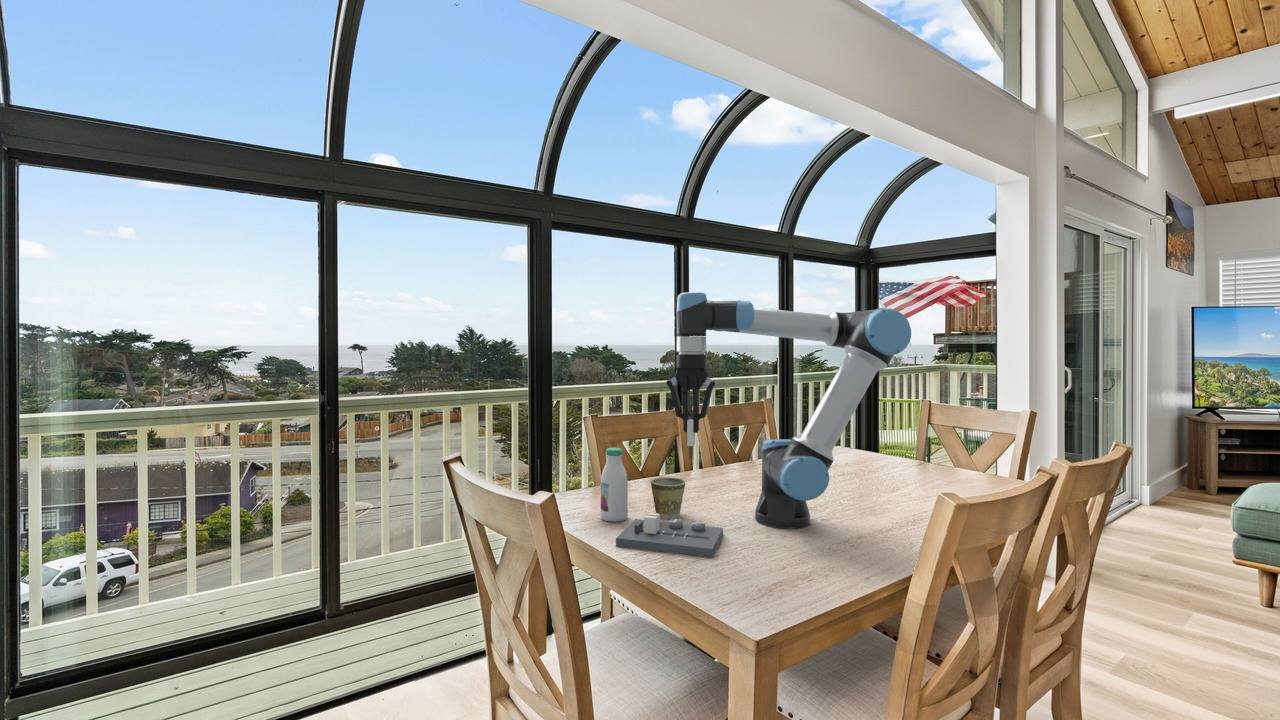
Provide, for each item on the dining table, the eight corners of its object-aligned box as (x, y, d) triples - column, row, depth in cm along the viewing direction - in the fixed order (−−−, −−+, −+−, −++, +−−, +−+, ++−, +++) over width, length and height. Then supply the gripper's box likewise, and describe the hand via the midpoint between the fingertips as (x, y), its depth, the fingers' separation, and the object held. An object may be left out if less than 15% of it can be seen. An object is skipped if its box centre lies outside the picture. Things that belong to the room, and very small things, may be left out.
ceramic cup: (679, 522, 163) (679, 486, 163) (645, 518, 166) (646, 483, 166) (691, 509, 175) (691, 476, 175) (660, 506, 179) (660, 473, 178)
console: (722, 535, 152) (723, 520, 152) (712, 557, 137) (712, 540, 137) (635, 526, 159) (635, 511, 159) (615, 546, 144) (616, 530, 144)
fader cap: (659, 529, 150) (660, 513, 150) (655, 534, 146) (655, 517, 146) (648, 527, 151) (648, 512, 151) (643, 532, 147) (644, 516, 147)
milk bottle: (629, 514, 170) (629, 446, 169) (625, 522, 162) (626, 451, 161) (602, 513, 171) (603, 445, 170) (598, 521, 163) (598, 450, 162)
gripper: (719, 353, 150) (718, 443, 151) (670, 352, 154) (670, 441, 155) (714, 353, 143) (713, 449, 144) (663, 353, 147) (662, 446, 148)
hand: (691, 445), depth 150 cm, fingers closed
